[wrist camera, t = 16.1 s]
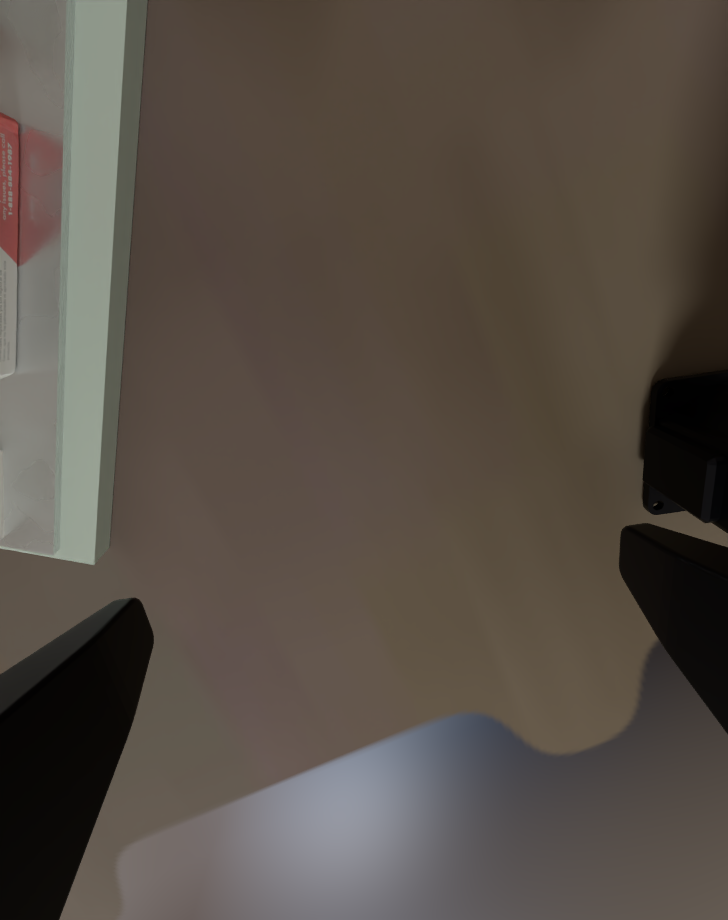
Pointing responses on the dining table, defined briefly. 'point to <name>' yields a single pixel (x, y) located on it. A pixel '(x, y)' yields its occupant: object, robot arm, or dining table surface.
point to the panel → (98, 263)
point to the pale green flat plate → (37, 265)
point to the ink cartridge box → (8, 242)
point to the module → (1, 497)
